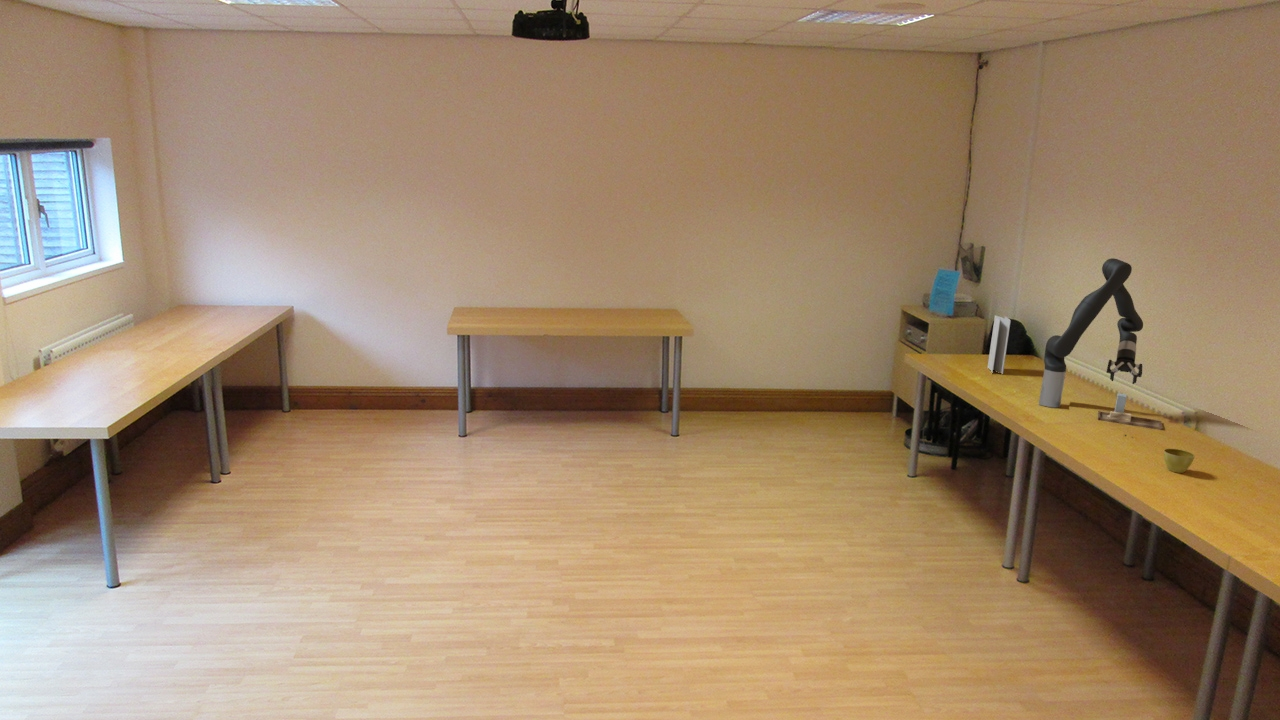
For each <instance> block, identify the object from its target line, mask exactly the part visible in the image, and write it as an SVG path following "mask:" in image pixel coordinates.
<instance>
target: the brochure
mask: <svg viewBox="0 0 1280 720" xmlns="http://www.w3.org/2000/svg"><path fill="white" fill-rule="evenodd" d="M1011 322H1012V321H1011V319H1010V318H1009V317H1007V316H1006V315H1005V316H1004V317H1001V316H998V315H995V314H994V319H993V327H992V335H991V341H990V347H989V354H988V363H987V369H988V368H989V369H990V370H991V372H992V373H993V374H994V372H995V371H997V372H999V373H1002V374H1003V375H1004V369H1005V363H1006V362H1005V361H1006V357H1007V348H1008V342H1009V334H1010V327H1011ZM993 370H995V371H993ZM991 372H990V373H991ZM997 372H996V373H997ZM992 373H991V374H992ZM999 373H998V374H999Z"/></svg>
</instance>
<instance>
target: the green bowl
mask: <svg viewBox="0 0 1280 720" xmlns="http://www.w3.org/2000/svg"><path fill="white" fill-rule="evenodd" d="M1195 457H1196V455H1195V454H1194V453H1192V452H1190V451H1187V450H1183V449H1178V448H1165V449H1163V458H1164V459H1163V460H1164V463H1165V465H1166V468H1167V470H1168V471H1170V472H1173V473H1177V474H1183V473H1185V472H1186V471H1187V470H1188V469H1189V468H1190V466H1191V465H1192V463H1193V462H1194V460H1195Z"/></svg>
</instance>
